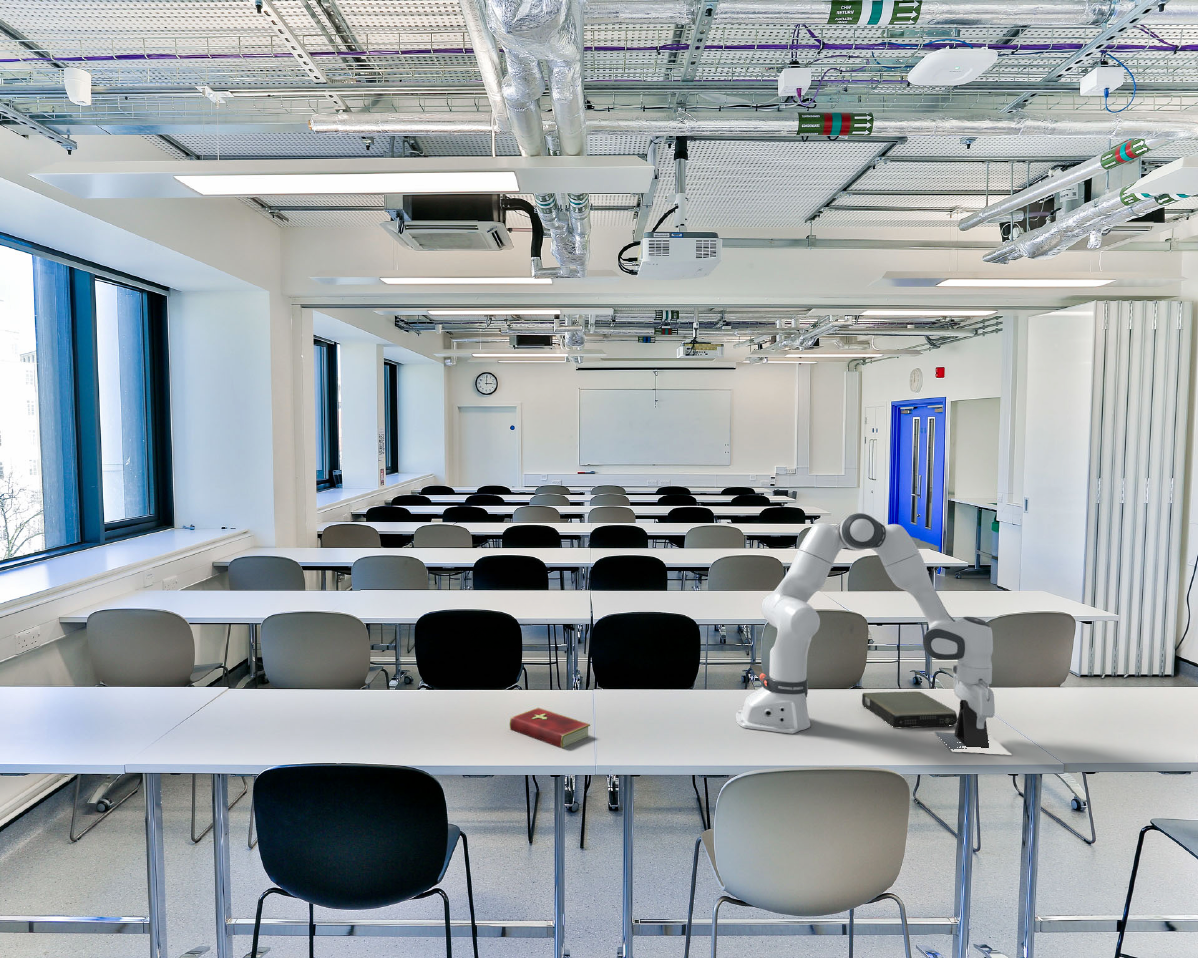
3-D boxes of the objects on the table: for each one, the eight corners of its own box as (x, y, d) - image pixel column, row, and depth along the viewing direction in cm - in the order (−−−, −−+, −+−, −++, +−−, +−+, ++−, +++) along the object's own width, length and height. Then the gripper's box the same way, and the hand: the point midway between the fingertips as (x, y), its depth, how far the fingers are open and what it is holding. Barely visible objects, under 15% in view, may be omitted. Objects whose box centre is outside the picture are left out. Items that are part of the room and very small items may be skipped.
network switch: (915, 702, 252) (915, 687, 252) (965, 727, 229) (966, 711, 229) (854, 707, 246) (855, 692, 246) (900, 733, 224) (900, 717, 223)
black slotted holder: (988, 748, 210) (990, 706, 210) (967, 747, 211) (968, 705, 210) (975, 736, 219) (976, 696, 219) (954, 735, 220) (955, 695, 219)
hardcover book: (561, 749, 207) (562, 735, 207) (509, 730, 220) (509, 716, 220) (590, 737, 216) (590, 723, 216) (538, 720, 229) (538, 706, 229)
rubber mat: (952, 752, 209) (952, 750, 209) (934, 733, 223) (934, 731, 223) (1012, 755, 207) (1012, 753, 207) (990, 736, 221) (990, 734, 221)
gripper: (1001, 686, 204) (1000, 736, 204) (971, 665, 224) (970, 710, 224) (977, 685, 204) (976, 734, 205) (950, 664, 224) (948, 709, 225)
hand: (972, 721), depth 215 cm, fingers open, 8 cm apart
